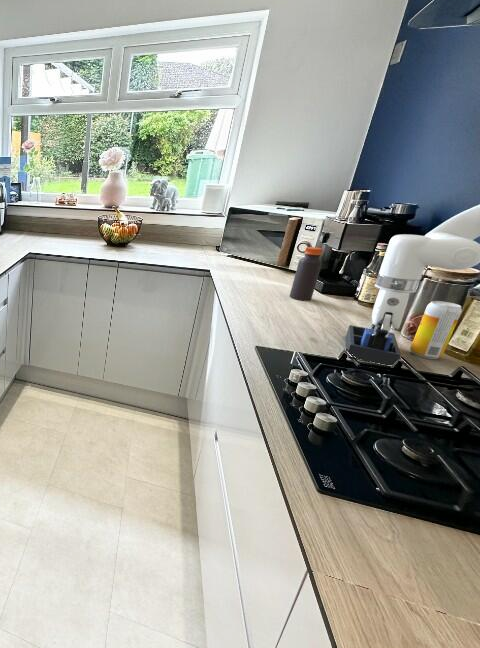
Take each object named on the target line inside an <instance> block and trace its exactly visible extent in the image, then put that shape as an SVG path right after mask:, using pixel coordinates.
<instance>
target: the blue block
mask: <svg viewBox="0 0 480 648" xmlns="http://www.w3.org/2000/svg"><path fill="white" fill-rule="evenodd" d="M364 328H365V331H364V334H363V337H362V340H361V342H360V346H364V347H367V344H368V342H369V339H370V336H371V335H373V332H374V330H373V329H371V328H368V327H364ZM391 333H392V332H390V331H389V335H388V340H387V342H386V345H385V348H384V351H388V349H389V346H390V344H391V341H392V335H391Z"/></svg>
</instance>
